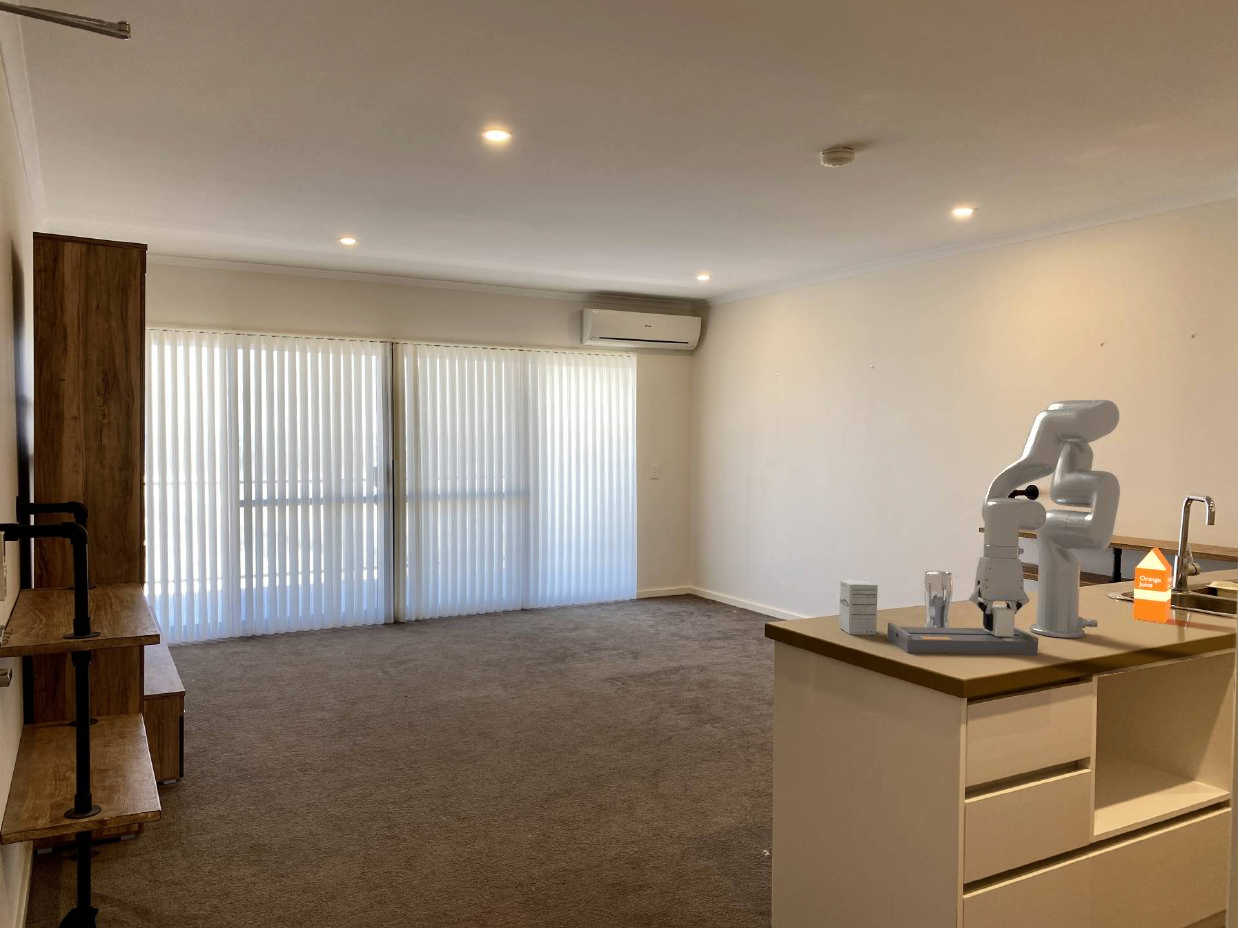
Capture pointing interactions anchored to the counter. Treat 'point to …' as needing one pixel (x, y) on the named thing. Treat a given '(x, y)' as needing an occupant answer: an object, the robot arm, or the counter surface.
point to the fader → (1002, 621)
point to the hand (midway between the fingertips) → (998, 629)
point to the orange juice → (1153, 588)
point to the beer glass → (937, 598)
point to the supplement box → (858, 607)
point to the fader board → (961, 641)
